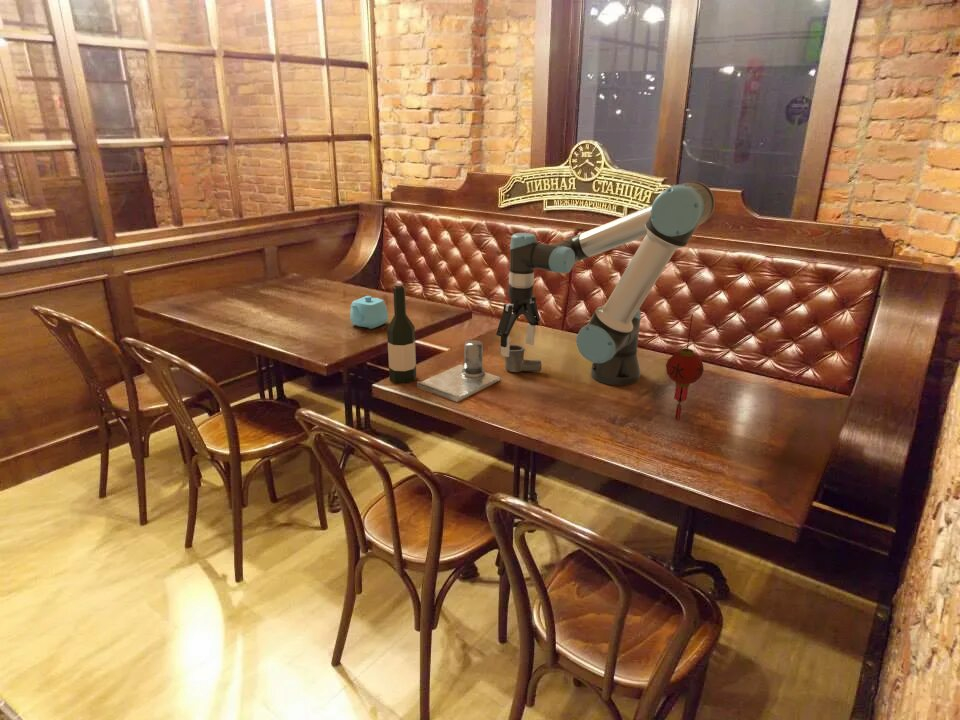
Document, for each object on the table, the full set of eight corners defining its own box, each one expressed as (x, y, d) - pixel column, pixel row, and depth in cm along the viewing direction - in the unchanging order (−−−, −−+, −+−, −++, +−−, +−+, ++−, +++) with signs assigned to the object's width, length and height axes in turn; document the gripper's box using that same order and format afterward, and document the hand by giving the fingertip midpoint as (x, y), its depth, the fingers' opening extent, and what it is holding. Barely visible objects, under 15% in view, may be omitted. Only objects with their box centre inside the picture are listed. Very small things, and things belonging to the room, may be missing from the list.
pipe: (539, 376, 194) (540, 352, 191) (499, 373, 197) (500, 349, 194) (542, 369, 200) (543, 346, 197) (503, 365, 202) (503, 343, 199)
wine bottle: (391, 385, 187) (386, 289, 176) (387, 374, 195) (382, 282, 183) (418, 382, 189) (415, 287, 178) (414, 372, 197) (410, 280, 186)
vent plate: (500, 379, 192) (501, 346, 187) (457, 402, 177) (456, 366, 172) (461, 367, 201) (461, 334, 197) (417, 387, 186) (415, 352, 182)
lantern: (652, 419, 168) (665, 313, 156) (670, 408, 174) (684, 306, 163) (684, 431, 161) (700, 322, 150) (702, 419, 167) (718, 314, 156)
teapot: (339, 330, 234) (337, 301, 230) (369, 317, 249) (367, 289, 245) (365, 335, 229) (363, 305, 225) (394, 322, 244) (392, 293, 239)
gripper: (533, 275, 199) (530, 336, 207) (485, 290, 181) (483, 357, 189) (553, 279, 195) (549, 342, 203) (506, 296, 177) (503, 364, 185)
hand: (517, 349), depth 196 cm, fingers open, 13 cm apart
